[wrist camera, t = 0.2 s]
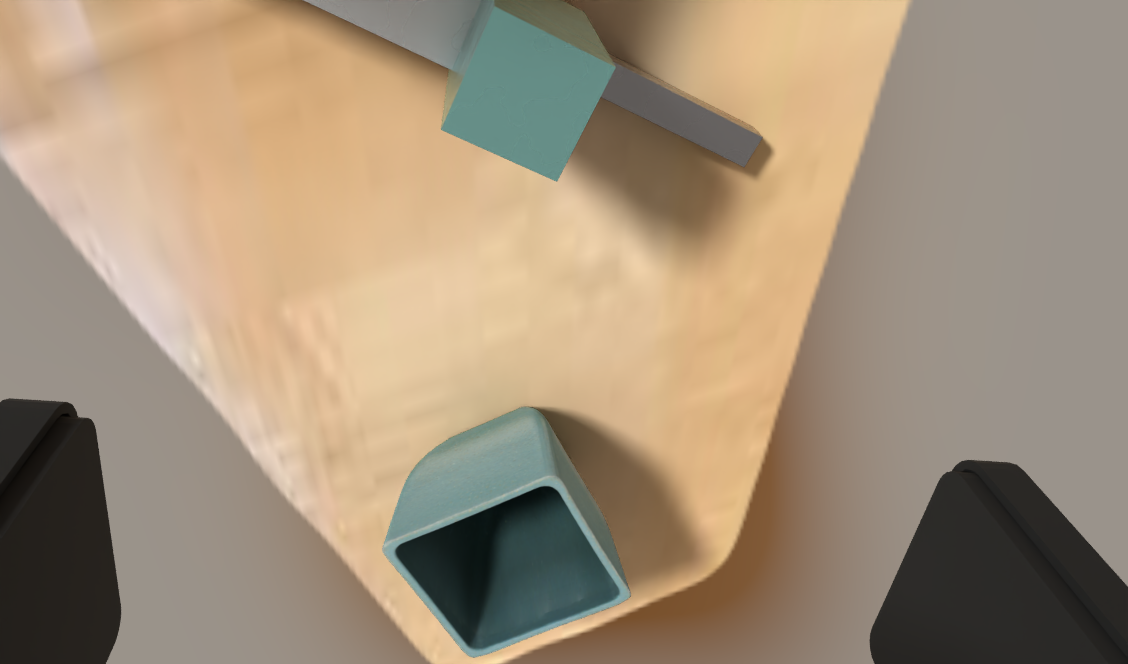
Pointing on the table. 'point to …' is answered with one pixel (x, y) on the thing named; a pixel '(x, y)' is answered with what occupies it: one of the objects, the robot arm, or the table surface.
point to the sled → (501, 69)
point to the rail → (680, 113)
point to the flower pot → (503, 536)
